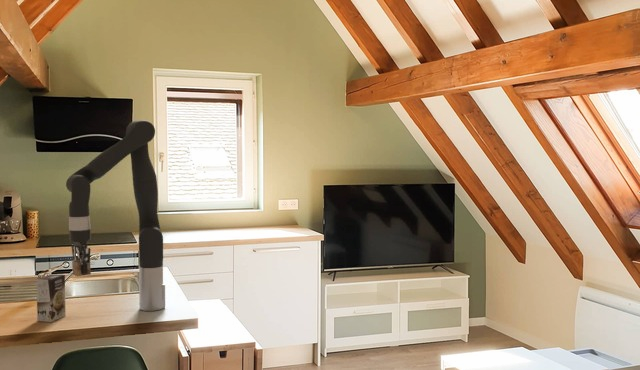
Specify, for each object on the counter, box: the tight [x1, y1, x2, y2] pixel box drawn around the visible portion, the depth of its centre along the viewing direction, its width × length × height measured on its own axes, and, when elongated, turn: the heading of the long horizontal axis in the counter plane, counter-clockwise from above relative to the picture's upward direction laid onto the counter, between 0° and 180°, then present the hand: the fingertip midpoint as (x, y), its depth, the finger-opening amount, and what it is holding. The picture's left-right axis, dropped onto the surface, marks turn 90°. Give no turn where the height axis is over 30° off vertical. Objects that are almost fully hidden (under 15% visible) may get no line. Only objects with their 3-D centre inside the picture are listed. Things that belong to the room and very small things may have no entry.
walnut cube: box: [71, 260, 92, 277], centre depth 244 cm, size 5×5×5 cm
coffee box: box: [36, 273, 66, 323], centre depth 245 cm, size 9×6×16 cm
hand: (81, 272), depth 245 cm, fingers closed on walnut cube, 5 cm apart
